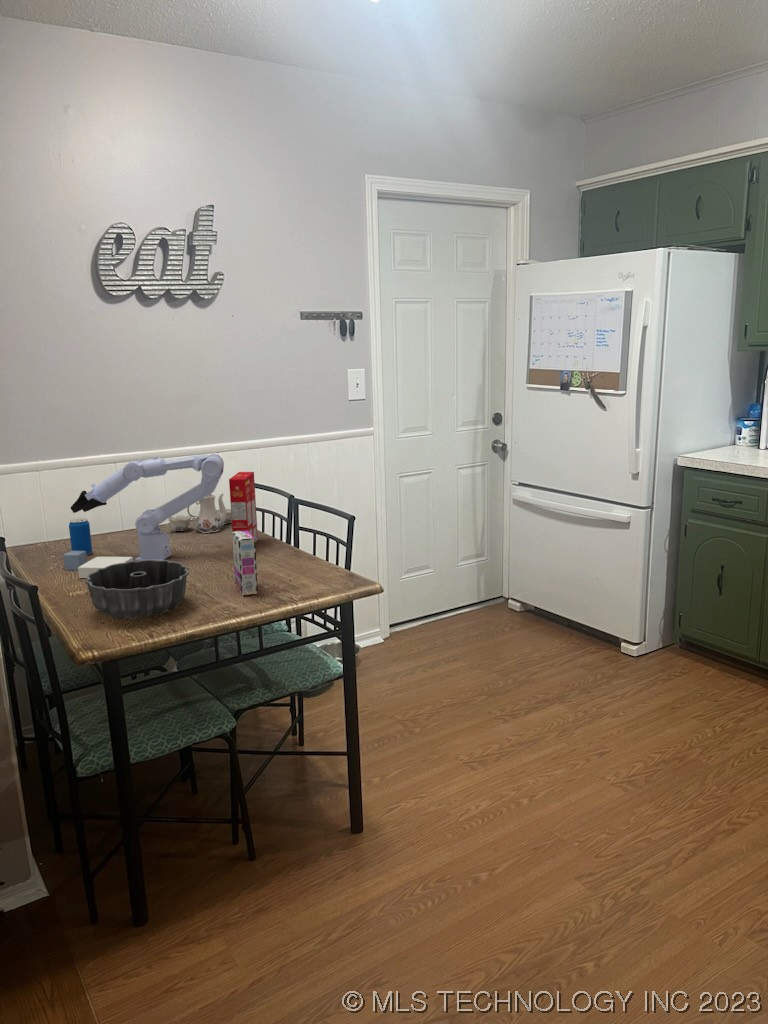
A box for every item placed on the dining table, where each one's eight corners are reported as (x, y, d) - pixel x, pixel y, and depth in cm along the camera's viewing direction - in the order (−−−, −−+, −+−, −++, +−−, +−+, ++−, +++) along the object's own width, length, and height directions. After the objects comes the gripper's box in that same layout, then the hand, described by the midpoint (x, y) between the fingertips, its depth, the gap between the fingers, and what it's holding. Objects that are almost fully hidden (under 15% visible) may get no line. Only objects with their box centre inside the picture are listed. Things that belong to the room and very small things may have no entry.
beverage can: (96, 552, 259) (92, 518, 257) (86, 557, 253) (83, 522, 250) (78, 551, 260) (74, 518, 257) (68, 557, 254) (64, 522, 251)
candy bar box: (259, 594, 212) (255, 538, 208) (241, 596, 210) (237, 540, 207) (251, 583, 222) (248, 529, 219) (234, 585, 220) (231, 531, 217)
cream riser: (134, 569, 240) (132, 557, 239) (116, 580, 228) (115, 568, 227) (98, 568, 241) (97, 556, 241) (79, 580, 230) (77, 567, 229)
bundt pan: (211, 605, 204) (208, 570, 201) (122, 634, 185) (118, 595, 182) (158, 586, 221) (155, 554, 219) (71, 611, 202) (67, 575, 200)
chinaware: (229, 524, 303) (224, 483, 301) (250, 526, 291) (245, 484, 288) (163, 536, 286) (157, 493, 284) (182, 539, 273) (176, 494, 271)
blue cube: (87, 565, 243) (85, 551, 242) (79, 570, 239) (77, 555, 237) (73, 565, 244) (71, 550, 243) (64, 570, 239) (63, 555, 238)
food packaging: (243, 540, 271) (239, 471, 265) (257, 540, 271) (253, 471, 265) (233, 551, 257) (228, 479, 251) (249, 551, 256) (244, 479, 251)
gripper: (113, 476, 251) (80, 499, 252) (95, 475, 237) (60, 500, 237) (125, 493, 251) (92, 516, 252) (107, 494, 237) (73, 518, 237)
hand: (77, 509), depth 245 cm, fingers open, 7 cm apart
